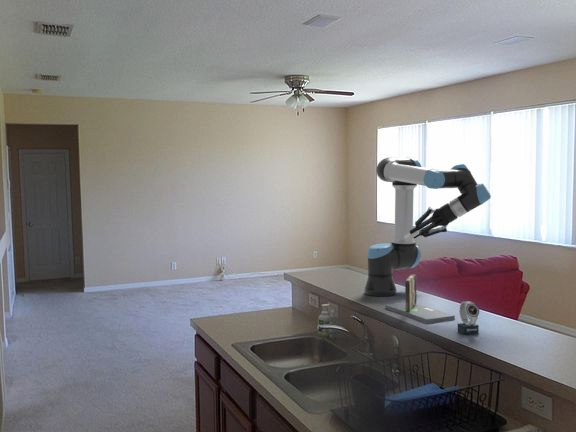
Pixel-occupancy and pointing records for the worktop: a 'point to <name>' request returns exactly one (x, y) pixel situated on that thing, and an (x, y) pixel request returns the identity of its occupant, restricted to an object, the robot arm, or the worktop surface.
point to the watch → (472, 313)
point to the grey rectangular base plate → (421, 313)
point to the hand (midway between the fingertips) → (405, 238)
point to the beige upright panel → (410, 292)
